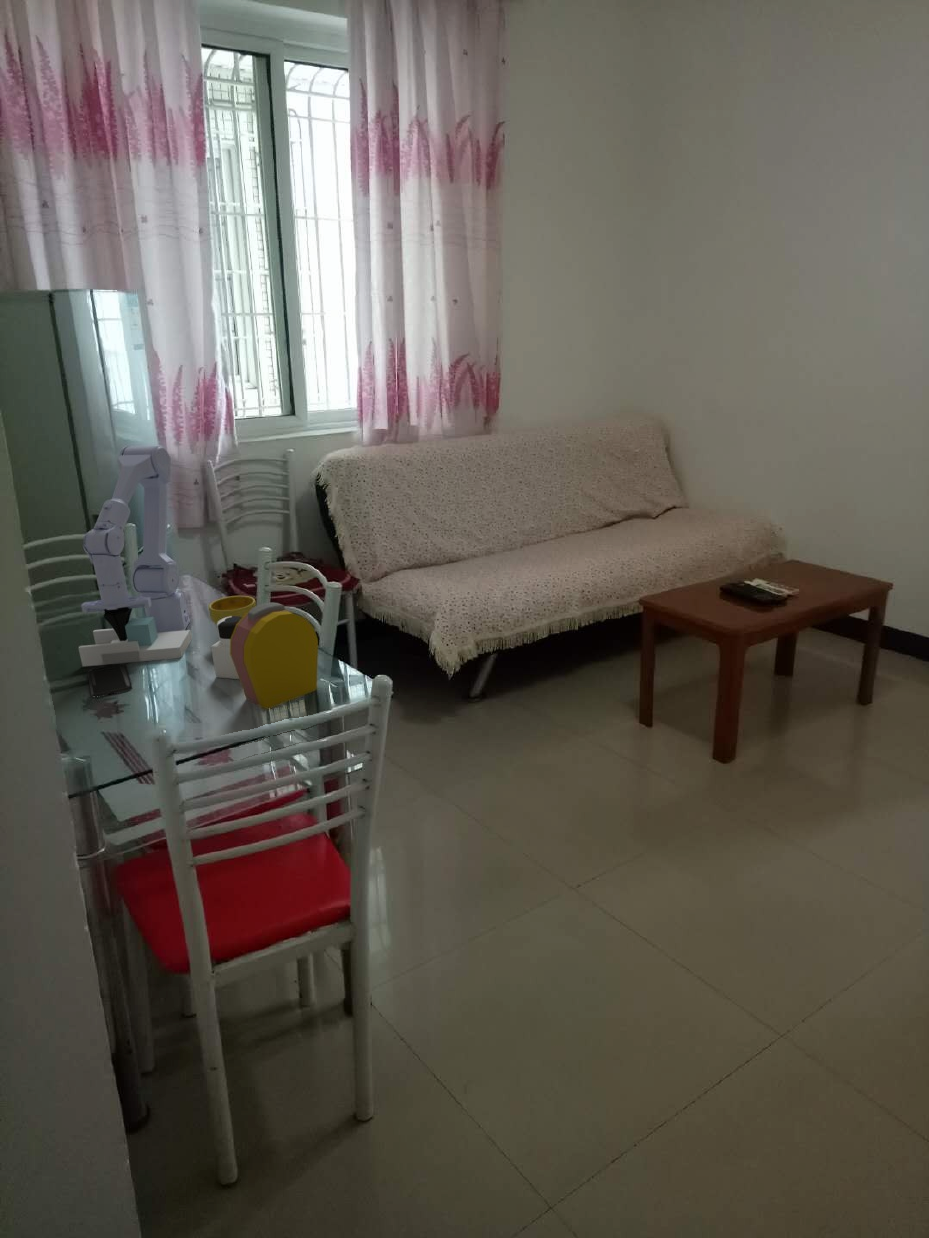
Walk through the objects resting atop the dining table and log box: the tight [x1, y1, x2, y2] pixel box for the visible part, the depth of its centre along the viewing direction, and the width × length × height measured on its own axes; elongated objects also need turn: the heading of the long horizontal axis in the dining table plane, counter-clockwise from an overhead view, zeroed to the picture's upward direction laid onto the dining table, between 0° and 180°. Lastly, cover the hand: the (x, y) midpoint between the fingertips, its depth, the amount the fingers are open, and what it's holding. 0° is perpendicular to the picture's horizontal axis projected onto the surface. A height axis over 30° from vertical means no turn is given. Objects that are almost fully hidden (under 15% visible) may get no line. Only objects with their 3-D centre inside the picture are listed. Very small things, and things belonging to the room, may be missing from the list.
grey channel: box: [78, 628, 193, 668], centre depth 192 cm, size 22×11×4 cm, turn 95°
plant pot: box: [208, 595, 257, 628], centre depth 193 cm, size 10×10×10 cm
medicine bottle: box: [210, 616, 243, 680], centre depth 176 cm, size 7×7×12 cm
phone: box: [87, 663, 133, 698], centre depth 178 cm, size 8×1×15 cm
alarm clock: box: [230, 601, 319, 711], centre depth 164 cm, size 15×8×18 cm, turn 133°
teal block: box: [125, 616, 158, 646], centre depth 191 cm, size 5×5×5 cm
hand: (124, 639), depth 191 cm, fingers closed
